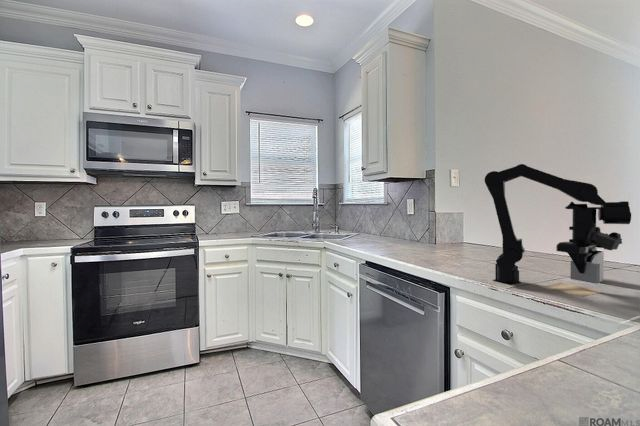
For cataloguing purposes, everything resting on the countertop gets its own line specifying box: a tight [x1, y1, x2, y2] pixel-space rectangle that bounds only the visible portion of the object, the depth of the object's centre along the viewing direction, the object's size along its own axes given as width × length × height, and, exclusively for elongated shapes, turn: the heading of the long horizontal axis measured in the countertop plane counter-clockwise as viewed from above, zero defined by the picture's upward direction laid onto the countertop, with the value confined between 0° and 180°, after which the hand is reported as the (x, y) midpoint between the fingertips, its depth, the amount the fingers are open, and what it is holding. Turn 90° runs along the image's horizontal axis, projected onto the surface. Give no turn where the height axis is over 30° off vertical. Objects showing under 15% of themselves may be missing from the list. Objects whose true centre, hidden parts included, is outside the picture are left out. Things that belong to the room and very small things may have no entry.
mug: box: [592, 248, 605, 283], centre depth 114 cm, size 9×12×11 cm
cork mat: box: [541, 282, 604, 298], centre depth 100 cm, size 12×11×1 cm
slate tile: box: [570, 259, 601, 285], centre depth 99 cm, size 7×2×6 cm, turn 25°
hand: (583, 272), depth 100 cm, fingers closed on slate tile, 2 cm apart
